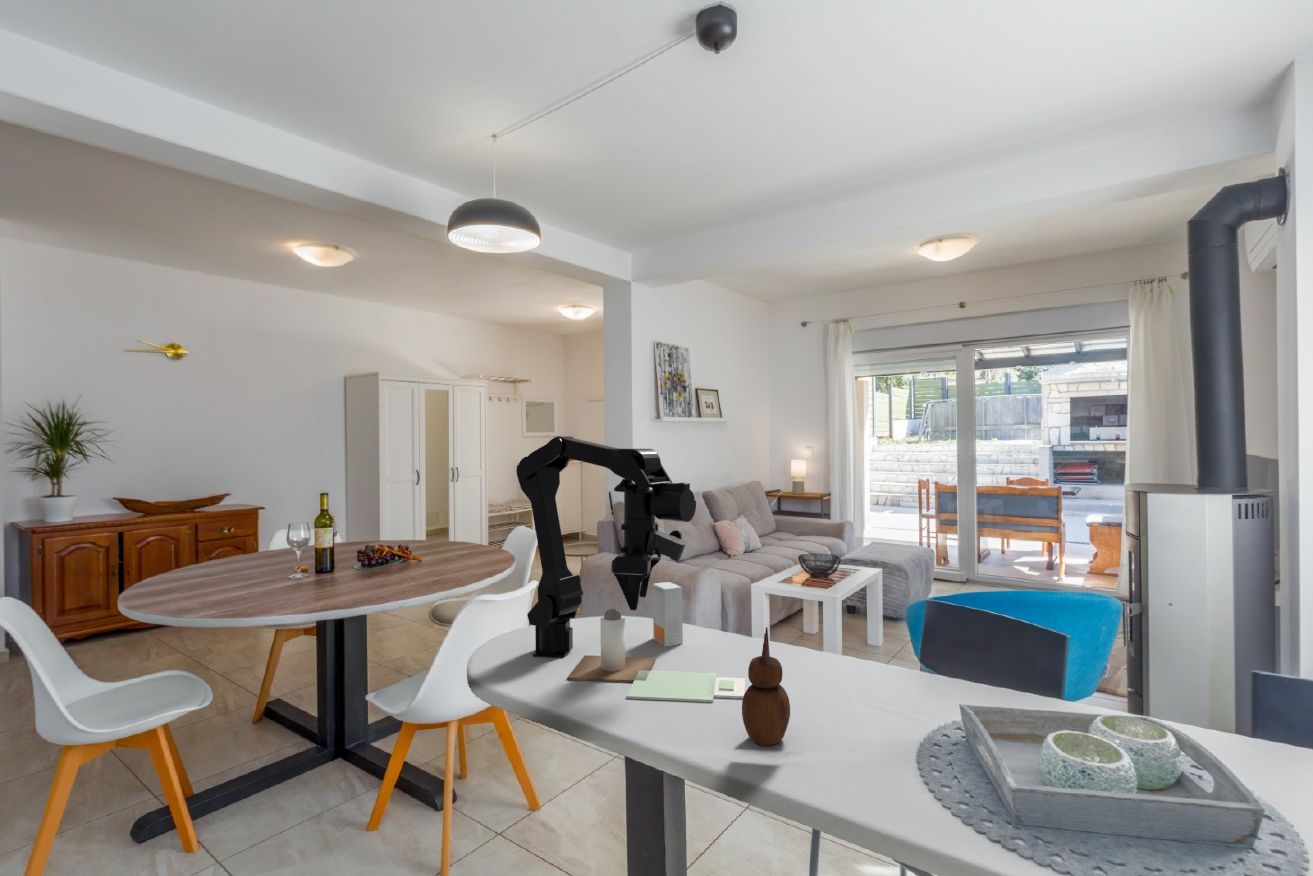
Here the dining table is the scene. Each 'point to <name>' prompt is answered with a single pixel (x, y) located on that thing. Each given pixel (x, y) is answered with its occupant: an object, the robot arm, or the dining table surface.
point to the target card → (729, 688)
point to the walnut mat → (592, 672)
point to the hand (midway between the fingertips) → (638, 603)
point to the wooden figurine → (765, 700)
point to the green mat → (674, 686)
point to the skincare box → (667, 613)
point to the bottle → (613, 641)
